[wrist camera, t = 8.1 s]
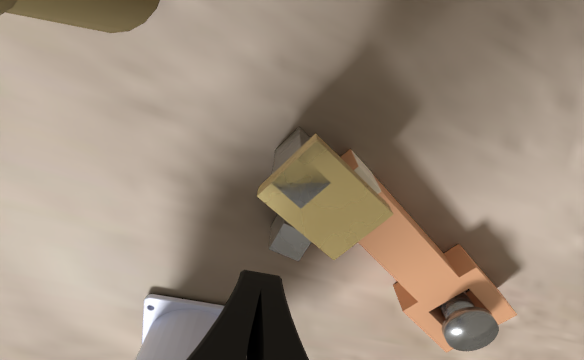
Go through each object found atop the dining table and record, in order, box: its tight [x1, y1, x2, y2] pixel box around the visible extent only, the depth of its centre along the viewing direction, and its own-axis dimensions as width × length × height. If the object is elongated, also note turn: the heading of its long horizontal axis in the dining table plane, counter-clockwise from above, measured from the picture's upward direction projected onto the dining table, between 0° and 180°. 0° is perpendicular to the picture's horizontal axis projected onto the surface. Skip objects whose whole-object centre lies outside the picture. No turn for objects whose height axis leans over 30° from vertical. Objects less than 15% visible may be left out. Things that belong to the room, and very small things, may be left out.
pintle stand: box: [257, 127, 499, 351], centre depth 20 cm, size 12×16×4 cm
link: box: [341, 149, 517, 353], centre depth 22 cm, size 16×5×2 cm, turn 42°
